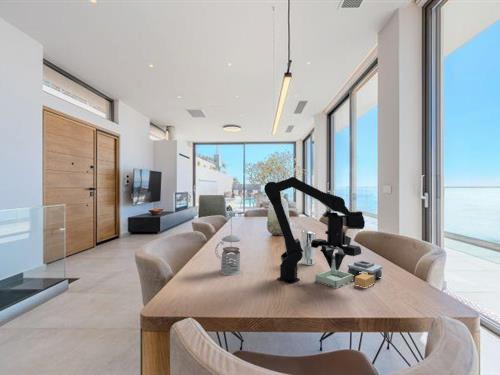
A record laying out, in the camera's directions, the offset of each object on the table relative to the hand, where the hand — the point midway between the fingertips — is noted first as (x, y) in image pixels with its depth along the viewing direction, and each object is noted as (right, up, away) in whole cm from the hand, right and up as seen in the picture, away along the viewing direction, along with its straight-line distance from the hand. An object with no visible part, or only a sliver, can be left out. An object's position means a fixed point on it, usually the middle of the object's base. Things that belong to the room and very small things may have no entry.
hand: (334, 269), depth 104 cm
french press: (-42, -4, +11) cm, 43 cm away
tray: (0, -5, 0) cm, 5 cm away
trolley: (+14, -5, +5) cm, 16 cm away
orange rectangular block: (+10, -5, -4) cm, 12 cm away
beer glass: (-5, -5, +23) cm, 24 cm away
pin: (0, -2, 0) cm, 2 cm away
